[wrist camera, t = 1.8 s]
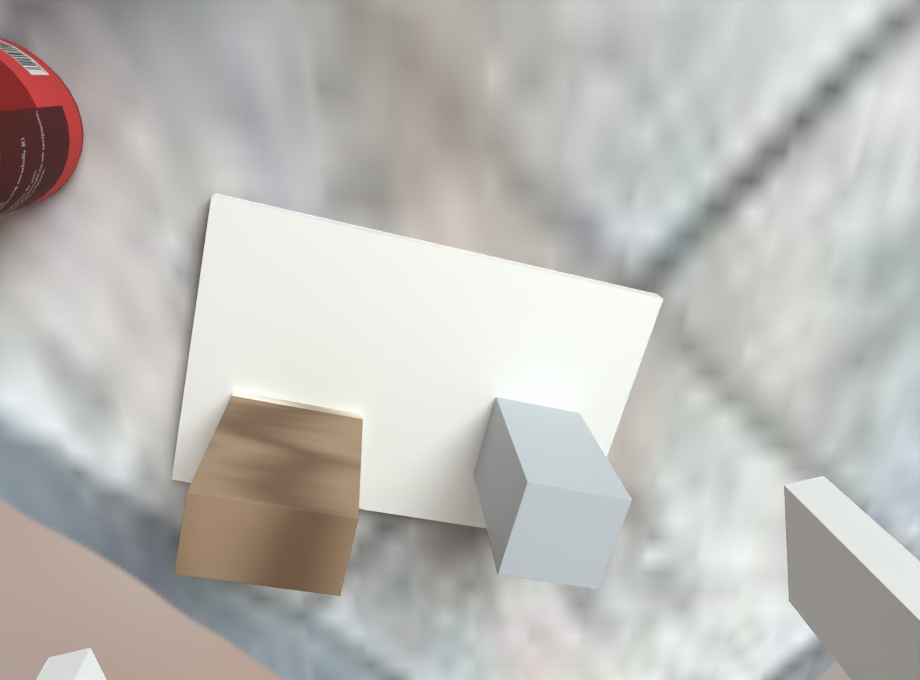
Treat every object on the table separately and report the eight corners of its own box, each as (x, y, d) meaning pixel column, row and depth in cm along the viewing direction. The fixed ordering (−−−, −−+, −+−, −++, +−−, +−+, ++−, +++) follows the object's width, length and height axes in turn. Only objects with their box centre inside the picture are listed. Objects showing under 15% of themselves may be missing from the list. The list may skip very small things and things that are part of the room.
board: (176, 470, 40) (171, 479, 39) (215, 193, 35) (211, 196, 34) (572, 532, 45) (576, 542, 44) (656, 293, 40) (663, 298, 39)
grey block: (473, 473, 41) (497, 574, 33) (496, 396, 40) (527, 482, 31) (554, 487, 42) (598, 589, 34) (579, 412, 41) (631, 499, 32)
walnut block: (222, 456, 39) (174, 574, 30) (233, 391, 38) (186, 492, 29) (348, 476, 40) (339, 595, 31) (363, 414, 39) (358, 519, 30)
